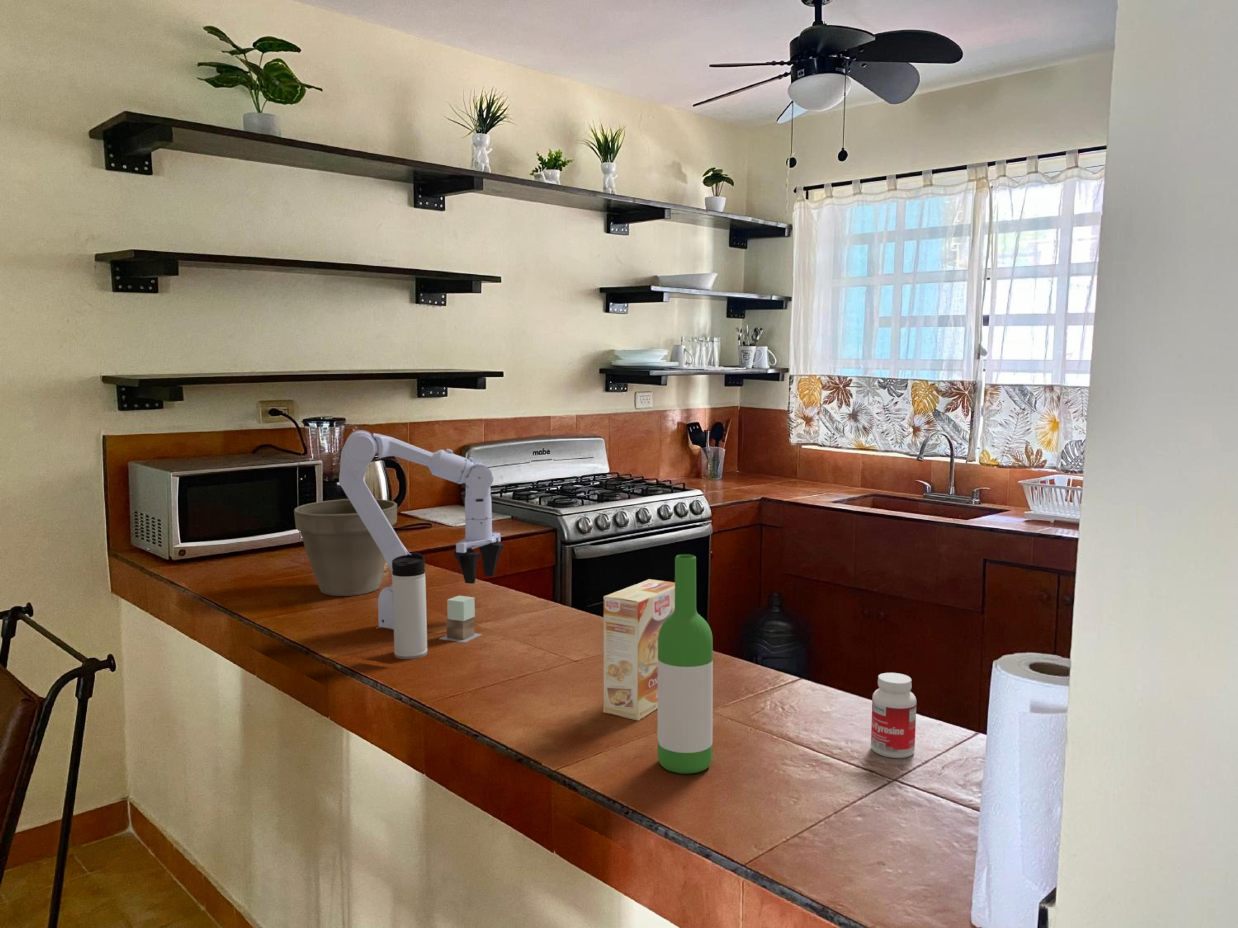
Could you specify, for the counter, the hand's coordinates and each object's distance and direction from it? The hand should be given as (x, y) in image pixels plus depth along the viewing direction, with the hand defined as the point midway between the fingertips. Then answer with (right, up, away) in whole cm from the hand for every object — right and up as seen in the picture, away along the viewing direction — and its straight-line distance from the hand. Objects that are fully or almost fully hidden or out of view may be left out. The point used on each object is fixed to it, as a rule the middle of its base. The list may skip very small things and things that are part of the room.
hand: (479, 579), depth 205 cm
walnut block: (-2, -10, -11) cm, 15 cm away
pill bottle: (+71, -17, -68) cm, 99 cm away
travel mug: (-10, -13, -22) cm, 28 cm away
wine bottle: (+40, -18, -72) cm, 84 cm away
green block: (-2, -6, -12) cm, 13 cm away
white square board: (-2, -11, -11) cm, 16 cm away
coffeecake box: (+35, -15, -48) cm, 61 cm away
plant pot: (-38, -7, +33) cm, 51 cm away
